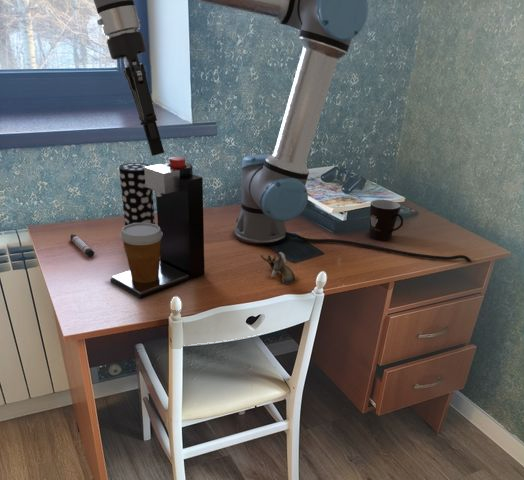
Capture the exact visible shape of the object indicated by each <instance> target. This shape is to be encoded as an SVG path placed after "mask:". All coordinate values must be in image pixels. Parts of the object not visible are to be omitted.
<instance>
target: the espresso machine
mask: <svg viewBox="0 0 524 480" xmlns="http://www.w3.org/2000/svg"><path fill="white" fill-rule="evenodd" d="M144 171H145V184H146V187H147V188H150V189H152V190H153V191H154V196H155V197H156V196H157V197H162V196H164V194H168V193H172V192H176V191H180V170H177V169H174V168H171V167H169V168H168V167H167V166H164V164H162V163H158V164H153V165H150V166H147V167H144ZM109 281H110V284H113V285H115V286H116V287H118V288H119V289H121V290H123V291H125V292H126V293H128V294H130V295H132V296H134V297H135V298H137V299H139V300H142V299H145V298H148V297H151V296H153V295H156V294H159V293H162V292H164V291H166V290H169V289H172V288H174V287H178V286H180V285H182V284H185V283H188V282H190V281H192V280H191V277H190V276H188V274H186V273H184V272H182V271H179V270H177V269H175V268H173V267H171V266H169V265H167V264H165V263H163V262H161V261H160V260H159V277H158V279H156V280H155V281H152V282H147V283H141V282H136V281H134V280H133V279H132V276H131V272H130V270H127V271H124V272H121V273H118V274H114V275H112V276H111V278H109Z"/></svg>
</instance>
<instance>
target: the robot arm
mask: <svg viewBox="0 0 524 480" xmlns="http://www.w3.org/2000/svg"><path fill="white" fill-rule="evenodd" d="M193 1H194V2H199V3H203V4H209V5H214V6H218V7H223V8H227V9H233V10H237V11H242V12H246V13H251V14H256V15H261V16H265V17H269V18H273V19H274V21H275V23H276V24H279V25H284V26H288V27H290V28H294V29H296V30H299V31H300V32H299V34H298V35H299V36H298V40H299V42H300V45H301V47H302V49H301V53H300V57H299V60H298V64H297V68H296V71H295V75H294V79H293V82H292V84H291V90H290V92H289V96H288V100H287V103H286V106H285V110H284V114H283V118H282V121H281V124H280V128H279V131H278V135H277V139H276V142H275V145H274V149H273V153H272V154H265V153H263V154H250V155H246V156H244V157H243V158H242V162H241V163H242V164H241V168H240V169H241V202H240V206H241V207H240V212H239V215H238V217H237V218H236V221H235V225H234V238H235V239H237V240H238V241H239V242H242V243H245V244H248V245H253V246H271V245H277V244H280V243H282V242H284V241H285V240H286V239H287V236H288V237H291V238H295V237H297V238H296V239H298V240H301V241H304V242H309V243H337V244H345V245H346V244H347V245H353V246H358V247H364V248H368V249H374V250H379V251H384V252H388V253H393V254H399V255H404V256H409V257H416V258H417V257H418V258H423V259H431V260H432V259H434V260H444V261H451V260H459V259H463V260H466V262H468V263H472V260H471V258H470V257H468V256H466V255H464V254H457V255H452V256H444V255H443V256H442V255H433V254H432V255H431V254H423V253H422V254H421V253H416V252H410V251H404V250H399V249H393V248H388V247H383V246H378V245H374V244H369V243H363V242H359V241H358V242H357V241H351V240H345V239H334V238H310V237H305V236H302V235H298V234H294V233H291V232H287V227H286V223H285V222H290V221H293V220H294V219H296V218H298V217H299V216H300V215H302V213H303V212H304V211H305V209H306V207H307V204H308V200H309V193H308V189H307V187H306V184H307V181H308V177H309V175H310V171H309V168H308V166H307V161H308V157H309V155H310V151H311V148H312V144H313V142H314V139H315V135H316V132H317V129H318V126H319V122H320V119H321V115H322V112H323V109H324V107H325V103H326V100H327V97H328V94H329V90H330V87H331V84H332V81H333V77H334V75H335V71H336V68H337V65H338V61H339V60H340V59H341V58H343V57H345V56H347V54H348V52H349V49H350V45H351V42H352V40H353V39H354V38H355V37H356V36H358V35H359V34H360V32H361V31H362V30H363V28H364V27H365V25H366V22H367V19H368V13H369V1H368V0H193ZM93 2H94V6H95V9H96V13H97V15H98V18H99V19H97V20H96V22H97V25H98V26H102V27H101V28H102V29H101V30H102V32H103V35H104V36H105V37H107V39H106V45H107V48H108V52H109V55H110V58H111V59H112V60H121V59H122V60H123V63H124V67H123V68H122V72H123V76H124V77H125V80H126V82H127V86H128V88H129V90H130V92H131V96H132V99H133V102H134V105H135V109H136V112H137V114H138V119H139V121H140V122H139V123H140V126H142V127H143V130H144V133H145V137H146V140H147V141H146V142H147V144H148V147H149V151H150V155H151V156H152V157H154V156H157V155H161V154H165V150H164V146H163V143H162V139H161V136H160V135H161V134H160V133H159V132H160V131H159V129H158V124H157V121H158V119H157V115H156V113H155V112H156V111H155V108H154V104H153V100H152V96H151V92H150V88H149V83H148V79H147V72H146V70H145V66H144V64H143V63H141V62H140V59H139V57H138V55H142V54H144V53H146V52H147V46H146V41H145V38H144V35H143V32H141V31H140V29H141V22H140V19H139V16H138V11H137V7H136V5H135V3H134V0H93ZM284 237H285V238H284Z"/></svg>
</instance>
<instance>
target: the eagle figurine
mask: <svg viewBox="0 0 524 480" xmlns="http://www.w3.org/2000/svg"><path fill="white" fill-rule="evenodd" d="M260 258H261V259H262V260H263V261H265V262H266V263H268V265H269V266H270V268H271V270H272V271H271V276H270V279H273V277H275V276H276V274H277V273H279V272H280V275H281V282H282V284H285V285H291V284H293V283H294V282H295V281H296V275H295V273H294V272H293V270H292V269H291V268H290V267H289V266H287V264H285V263H286V262H287V260H286V255H285V253H283V251H279V252H278V256H277V257H276V254H273V258H272V257H271V254H269V255H267V258H266V257H264V256H263V255H262V254H261V255H260ZM277 258H278V259H277Z"/></svg>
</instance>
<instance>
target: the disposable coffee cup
mask: <svg viewBox="0 0 524 480" xmlns="http://www.w3.org/2000/svg"><path fill="white" fill-rule="evenodd" d="M119 236H120V239H121V241H122V243H123V246H124V250H125V251H124V252H125V256H126V259H127V263H128V267H129V271H130V272H131V276H132V279H133V280H134V281H136V282H141V283H147V282H152V281H155V280H156V279H158V277H159V261H160V245H161V238H162V236H163V233H162V232H161V229H160V227H159V226H158V224H156V223H155V224H152V223H133V224H129V225H126V226H125V225H124V226H123V227H122V228H121V232H120V233H119Z"/></svg>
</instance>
